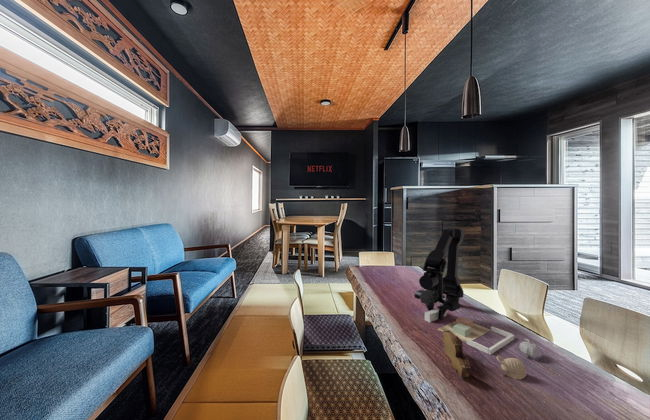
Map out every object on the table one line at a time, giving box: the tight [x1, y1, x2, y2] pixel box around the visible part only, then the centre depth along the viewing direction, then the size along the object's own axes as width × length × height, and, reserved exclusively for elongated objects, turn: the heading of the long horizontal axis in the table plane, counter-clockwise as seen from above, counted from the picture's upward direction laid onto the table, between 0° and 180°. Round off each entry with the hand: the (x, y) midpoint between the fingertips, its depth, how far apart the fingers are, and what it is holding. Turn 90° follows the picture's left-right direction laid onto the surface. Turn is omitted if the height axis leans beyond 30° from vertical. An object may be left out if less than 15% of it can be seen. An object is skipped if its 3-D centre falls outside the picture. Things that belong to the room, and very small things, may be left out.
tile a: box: [455, 316, 474, 328], centre depth 104 cm, size 4×4×2 cm
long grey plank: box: [424, 307, 448, 323], centre depth 111 cm, size 12×2×5 cm, turn 122°
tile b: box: [453, 323, 471, 337], centre depth 98 cm, size 4×4×2 cm
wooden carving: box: [441, 330, 472, 378], centre depth 81 cm, size 16×5×10 cm, turn 179°
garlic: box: [518, 338, 540, 360], centre depth 86 cm, size 6×5×5 cm
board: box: [437, 320, 491, 344], centre depth 101 cm, size 17×12×2 cm
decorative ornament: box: [496, 355, 527, 380], centre depth 77 cm, size 4×8×5 cm, turn 77°
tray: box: [466, 325, 516, 356], centre depth 92 cm, size 18×8×3 cm, turn 122°
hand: (435, 318), depth 112 cm, fingers open, 4 cm apart
